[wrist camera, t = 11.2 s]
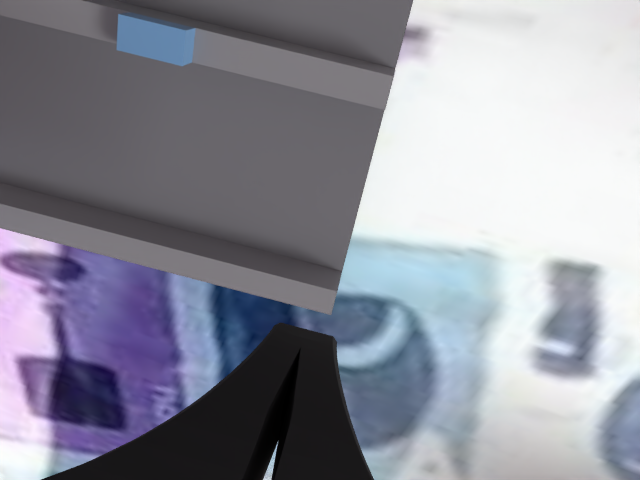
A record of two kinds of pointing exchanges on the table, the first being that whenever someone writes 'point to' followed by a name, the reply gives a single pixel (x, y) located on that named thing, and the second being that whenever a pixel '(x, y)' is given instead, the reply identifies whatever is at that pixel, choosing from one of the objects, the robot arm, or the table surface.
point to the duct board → (197, 132)
